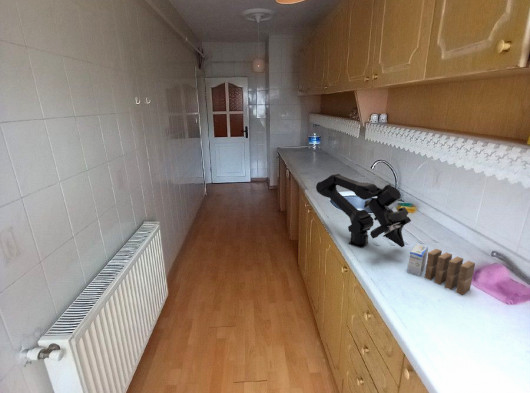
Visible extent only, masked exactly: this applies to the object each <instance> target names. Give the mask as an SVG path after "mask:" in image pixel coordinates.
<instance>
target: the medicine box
mask: <svg viewBox="0 0 530 393" xmlns="http://www.w3.org/2000/svg"><path fill="white" fill-rule="evenodd" d="M428 251H429V246H425V245H421V244H418V243H415V244H414V246H413V247H412V249H411V250H410V252H409V257H408V263H407V264H408V265H407V273H408V274H411V275H414V276H418V277H421V274H422V273H423V271H424V269H425V268H426V264H427V258H428V253H429V252H428Z"/></svg>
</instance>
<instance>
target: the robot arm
mask: <svg viewBox="0 0 530 393" xmlns="http://www.w3.org/2000/svg"><path fill="white" fill-rule="evenodd" d="M337 186H339V187H341V188H343V189H346V190H349V191H350V192H353V193H354V195H355V197H358V198H359V199H361V200H362V201H364V200H365V201H364V202H365V203H364V206H363V207H364V209H360V210H359V209H358V208H356V207H355V206H354V205H353V204H352V203H351V202H350V201H349V200H348V199H347V198H345V197H344V196H343V195H342V194H341V193H340V192H339V191H338V189H337ZM315 189H316V192H317V193H318V194H319V195H321V197H326V198H327V199H328V198H329V199H330V201H332V203H334V204H335V205H336V206H337V207H338V208H339V209H340V210H341V211H342V212H343V213H344V214H345V215H347V217H348V218H349V221H350V225H348V227H347V230H348V232H349V233H350V241H349V242H348V244H349V245H351V246H355V247H357V248H364V247H365V246H366V245H368V244H369V236H370V237H371V238H372V240H373V239H376V238H378V237H379V236H380V235H382V234H384V235H382V237H383V238H384V237H385V238H387V239H388V240H389V241H392V242H394V244H396V245H398V246H399V247H400V248H403V247H405V241H404V237H403V234H402V231H403V228H404V226H406V225H407V224H409V223H411V222H412V220H411V218H410V217H409V216H408V215H409V214H410V213H409V211H408V210H407V208H406V207H405V206H403V207H399V208H398V209H397V210H396V211H394V210H392V209H391V208H390V209H389V208H388V207H390V206H391V205H393V204H394V203H395V202H397V201H398V200H400V199H401V197H402V196H401V195H402V194H401V192H400V190H399V189H397V188H396V187H394V186H392V184H386V185H385V186H384V187H382V188H381V187H378V186H377V185H376V184H374V183H372V182H359V181H357V180H354V179H352V178H349V177H347V176H344V175H342V174H339V173H334V174H331V175H329V176H328V177H326V178H325V179H324V180H321V181H319V182H317V183H316V186H315ZM368 199H370V200H368ZM367 208H369V209H370V210H371V212H372V213H373V215H374V217H373V216H372V214H370V213H369V212H368V211H367V210H366V209H367ZM374 221H377V222H378V223H379V226H377V227H376V228H374V229H372V228H373V226H374ZM371 229H372V230H371ZM370 230H371V231H370ZM368 231H370V235H369V234H368V233H369V232H368Z"/></svg>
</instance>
